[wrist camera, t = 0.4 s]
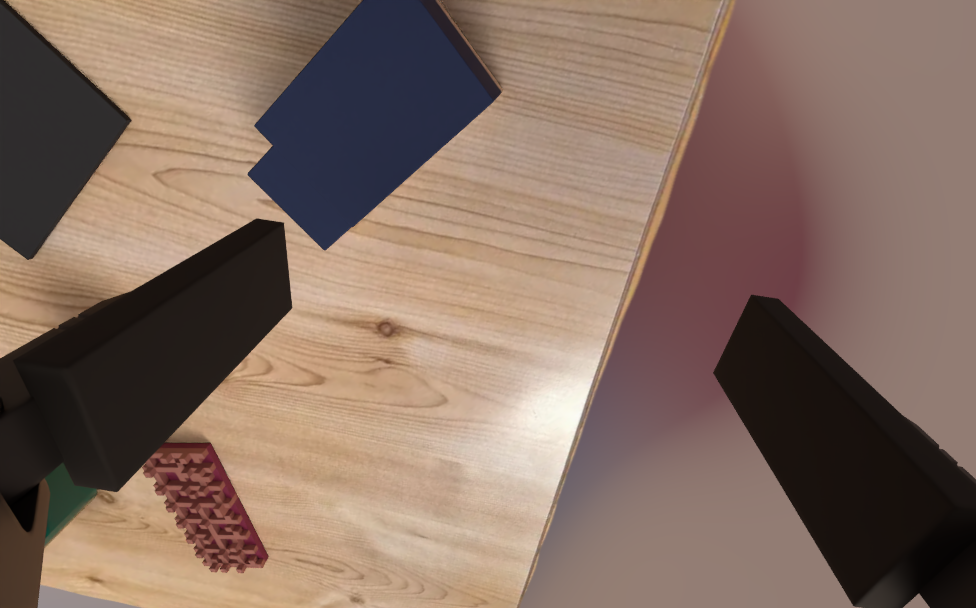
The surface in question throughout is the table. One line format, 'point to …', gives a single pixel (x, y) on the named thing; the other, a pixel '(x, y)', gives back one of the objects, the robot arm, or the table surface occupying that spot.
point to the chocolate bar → (206, 506)
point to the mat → (45, 133)
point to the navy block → (369, 113)
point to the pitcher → (64, 501)
